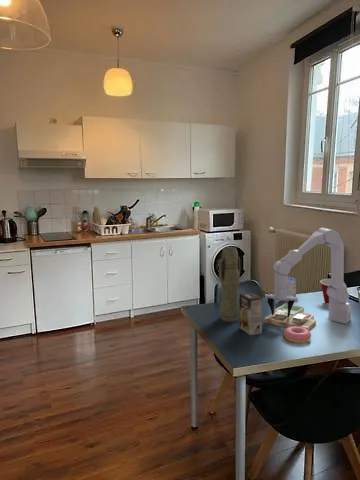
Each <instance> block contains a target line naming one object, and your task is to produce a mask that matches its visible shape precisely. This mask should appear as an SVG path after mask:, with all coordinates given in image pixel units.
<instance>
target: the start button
mask: <svg viewBox="0 0 360 480" xmlns="http://www.w3.org/2000/svg"><path fill="white" fill-rule="evenodd" d="M302 314H303V315H307V318H309V317H310V316H311V315H312V314H311V313H306V312H302Z"/></svg>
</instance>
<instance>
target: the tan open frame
mask: <svg viewBox="0 0 360 480" xmlns="http://www.w3.org/2000/svg"><path fill="white" fill-rule="evenodd" d="M275 313H276V312H274V315H272V313H270V314H269V315H267V316H265V317H264V324H270V325H273V326H278V327H279V326H280V327H282V328H285V329H286V328H288V327H292V326H298V327H303V328H305V329H307V330H309V331H311V330H312V329H313V328H314V327H316V325H317V320H316V319H313V320H312V319H307V320H306V323H305V324H304V325H299V324H295V323H293V317H294V316H293V315H290V316H289V317H287V314H286V319H285V320H284V321H281V320H277V319H275Z"/></svg>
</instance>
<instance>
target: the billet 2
mask: <svg viewBox="0 0 360 480" xmlns="http://www.w3.org/2000/svg"><path fill="white" fill-rule="evenodd" d="M306 320H307V315H303V314H297V315H295V316H294V317H293V323H295V324H299V325H304V324H305V323H306Z"/></svg>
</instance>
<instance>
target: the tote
mask: <svg viewBox="0 0 360 480" xmlns="http://www.w3.org/2000/svg"><path fill="white" fill-rule="evenodd" d="M277 310H285V311H286V314H288V303H283V304H282V305H280V306H279V307H277V308H276V309H275V308H274V312H277ZM304 312H305V307H304V306H300V305H296V304H295V305H294V304H293V306H292V308H291V311H290V315H293V316H295V315H297V314H300V313H304Z"/></svg>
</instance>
